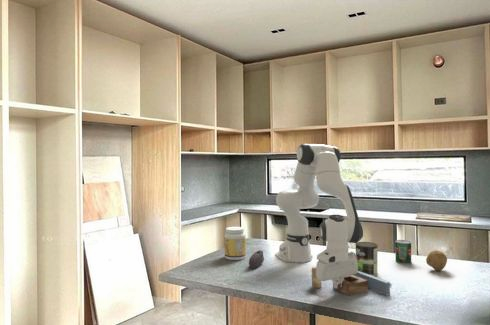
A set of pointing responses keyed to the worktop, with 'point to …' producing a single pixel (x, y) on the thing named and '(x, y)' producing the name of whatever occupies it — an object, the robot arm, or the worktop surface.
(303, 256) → the robot arm
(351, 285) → the block
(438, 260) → the natural sponge
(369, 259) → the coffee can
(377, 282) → the wall
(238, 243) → the supplement tub
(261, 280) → the worktop surface
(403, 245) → the canned tomato
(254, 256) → the perforated stone tool
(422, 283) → the worktop surface
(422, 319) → the worktop surface
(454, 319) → the worktop surface
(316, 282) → the dowel
